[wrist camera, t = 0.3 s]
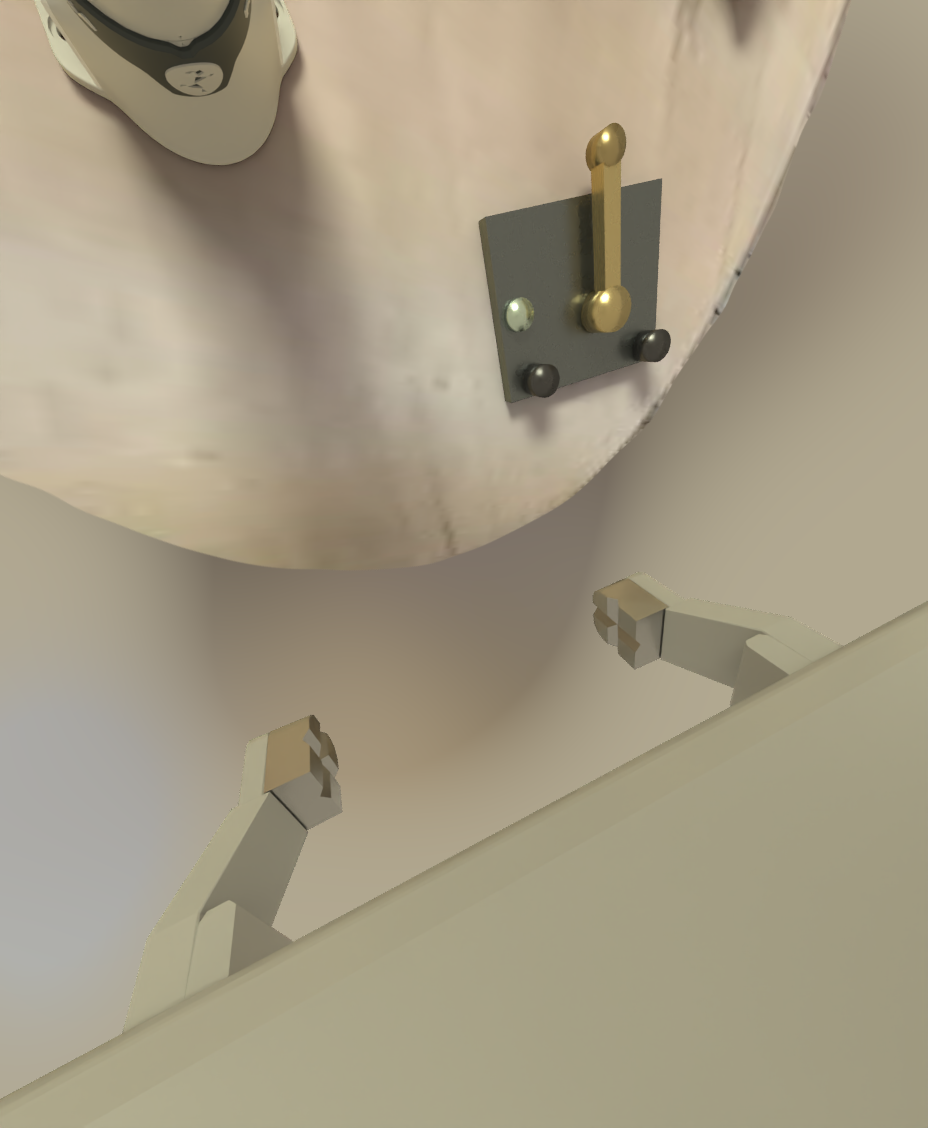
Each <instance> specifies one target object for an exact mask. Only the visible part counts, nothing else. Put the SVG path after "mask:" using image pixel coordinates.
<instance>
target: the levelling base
mask: <svg viewBox="0 0 928 1128" xmlns="http://www.w3.org/2000/svg"><path fill="white" fill-rule="evenodd" d="M661 192H662V178H661V179H657V180H652V181H648V182H643V183H638V184H634V185H629V186H625V187H621V286H623V287H625V288H626V289H627V291H628V292H629V294H630V298H631V311H630V315H629V318H628V320H627V322H626V323H625V325H624V326H623V327H622V328H621V329H619V330H618V331H616V332H607V333H591V332H589V331H587V330H586V329H585V328H584V326H583V324H582V320H581V309H582V305H583V302H584V300H585V298H586V297H587V296H588V294H589V293H590V292H592V291H593V290H594V255H593V219H592V194H588V195H584V196H579V197H575V198H570V199H565V200H561V201H556V202H552V203H547V204H543V205H538V206H533V207H529V208H524V209H520V210H515V211H511V212H506V213H502V214H497V215H492V216H488V217H485V218H483V219H482V220H480V221H479V229H480V235H481V242H482V249H483V255H484V262H485V269H486V275H487V282H488V289H489V295H490V302H491V309H492V315H493V322H494V329H495V335H496V342H497V349H498V355H499V362H500V369H501V375H502V382H503V389H504V395H505V401H506V402H510V403H513V402H516V401H519V400H522V399H525V398H528V397H531V396H538V397H544V398H545V397H549V396H551V395H552V394H554V393H555V391H556V390H557V388H560V387H563V386H566V385H569V384H572V383H575V382H579V381H582V380H585V379H588V378H591V377H594V376H597V375H600V374H604V373H607V372H610V371H613V370H616V369H619V368H622V367H626V366H629V365H632V364H635V363H638V362H641V361H644V362H658V361H660V360H662V359H663V358H664V357H665V356H666V354H667V353H668V351H669V348H670V343H671V339H670V335H669V333H668V332H667V331H666V330H664V329H659V330H655V327H656V304H657V282H658V259H659V237H660V215H661Z"/></svg>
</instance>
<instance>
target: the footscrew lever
mask: <svg viewBox="0 0 928 1128" xmlns="http://www.w3.org/2000/svg"><path fill="white" fill-rule="evenodd" d="M625 148H626V136H625V132H624V130H623V128H622V127H621V125H619V124H617V123H612V124H610V125H608V126H607V127H606V128H604V129H603V130H601V131H600V132H599V133H597V134H596V135H595V136H593V137H592V138H591V139H590V141H589V143H588V145H587V149H586V162H587V166H588V168H589V170H590V171H591V183H592V219H593V255H594V290H593V291H592V292H590V293H589V294H588V296H587V297H586V298H585V300H584V302H583V305H582V309H581V320H582V324H583V326H584V328H585V329H586V330H587V331H589V332H591V333H607V332H616V331H618V330H619V329H621V328H622V327H623V326H624V325H625V323H626V322H627V320H628V318H629V315H630V311H631V298H630V294H629V292H628V291H627V289H626V288H625V287H623V286H621V159H622V157H623V155H624V152H625Z"/></svg>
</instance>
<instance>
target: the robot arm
mask: <svg viewBox="0 0 928 1128" xmlns="http://www.w3.org/2000/svg"><path fill="white" fill-rule="evenodd" d="M34 2H35V4H36V7H37V10H38V13H39V15H40V18H41V21H42V24H43V26H44V29H45V32H46V35H47V37H48V40H49V43H50V46H51V48H52V51H53V53H54V55H55V57H56V59H57V60H58V62H59V64H60V65H61V67H62V68H63V70H64V71H65V72H66V73H67V74H68V75H69V76H70V77H71V78H72V79H74V80H75V81H76V82H78V83H79V84H81V85H82V86H84V87H86V88H87V89H89V90H91V91H93V92H95V93H97V94H98V95H100V96H102V97H104V98H106V99H108V100H110V101H112V102H113V103H114V104H115V105H117V106H118V107H119V108H120V109H121V110H122V111H123V112H124V113H126V114H127V115H128V116H129V117H130V118H131V119H132V120H133V121H134V122H135V123H136V124H137V125H138V126H139V127H140V128H141V129H142V130H143V131H145V132H146V133H147V134H148V135H149V136H151V137H152V138H153V139H154V140H156V141H157V142H158V143H160V144H161V145H163V146H164V147H166V148H167V149H169V150H171V151H173V152H175V153H176V154H178V155H180V156H183V157H185V158H187V159H190V160H193V161H196V162H200V163H204V164H210V165H228V164H233V163H237V162H240V161H242V160H244V159H246V158H248V157H250V156H251V155H252V154H254V153H255V152H256V151H257V150H258V149H259V148H260V147H261V146H262V145H263V143H264V142H265V140H266V139H267V137H268V135H269V134H270V131H271V129H272V127H273V124H274V121H275V117H276V113H277V108H278V100H279V92H280V86H281V81H282V78H283V76H284V75H285V73H286V72H287V70H288V68H289V67H290V65H291V63H292V62H293V60H294V58H295V55H296V52H297V47H298V42H297V35H296V31H295V27H294V24H293V22H292V19H291V17H290V14H289V12H288V10H287V7H286V5H285V2H284V0H34ZM276 12H277V13H278V18H277V15H276ZM61 34H62V35H63V37H64V38H65V40H66V41H65V40H63V39H62V38H61ZM593 603H594V604H595V605H596V606H597V609H596V611H595V612H594V614H593V616H594V624H595V626H596V629H597V631H598V633H599V635H600V636H601V637H602V639H603V640H604V641H606V643H608V644H610V645H613V646H617V647H618V654H619V655H620V656H621V657H622V658H623V659H624V660H625V661H626V662H627V663H628V664H629V665H630V666H631V667H632V668H634V669H637V668H639V667H642V666H644V665H646V664H648V663H650V662H652V661H655V660H657V659H659V658H661V660H664V661H666V662H669V663H671V664H674V665H676V666H679V667H681V668H684V669H686V670H689V671H692V672H694V673H697V674H699V675H702V676H704V677H707V678H709V679H712V680H714V681H717V682H720V683H722V684H725V685H727V686H730V687H732V688H734V690H733V694H732V698H731V701H730V707H729V708H727V709H726V710H724V711H722V712H720V713H718V714H716V715H715V716H713V717H711V718H709V719H707V720H705V721H703V722H702V723H700V724H698V725H696V726H694V727H692V728H690V729H689V730H687V731H685V732H683V733H681V734H679V735H677V736H675V737H673V738H672V739H670V740H668V741H666V742H664V743H662V744H660V745H659V746H657V747H655V748H653V749H651V750H649V751H647V752H646V753H644V754H642V755H640V756H638V757H636V758H634V759H633V760H631V761H629V762H627V763H625V764H623V765H621V766H619V767H618V768H616V769H614V770H612V771H610V772H608V773H606V774H604V775H603V776H601V777H599V778H597V779H596V780H593V781H591V782H590V783H588V784H586V785H584V786H582V787H581V788H578V789H577V790H575V791H573V792H571V793H569V794H567V795H565V796H564V797H562V798H560V799H558V800H556V801H554V802H552V803H550V804H549V805H547V806H545V807H543V808H541V809H539V810H537V811H536V812H534V813H532V814H530V815H529V816H526V817H525V818H523V819H521V820H519V821H517V822H515V823H513V824H511V825H510V826H508V827H506V828H504V829H502V830H500V831H499V832H497V833H495V834H493V835H491V836H489V837H487V838H485V839H484V840H482V841H480V842H478V843H476V844H474V845H472V846H471V847H469V848H467V849H465V850H463V851H461V852H460V853H458V854H456V855H454V856H452V857H450V858H448V859H447V860H445V861H443V862H441V863H439V864H437V865H435V866H433V867H432V868H430V869H428V870H426V871H424V872H422V873H420V874H419V875H417V876H415V877H413V878H411V879H409V880H407V881H406V882H404V883H402V884H400V885H398V886H396V887H394V888H392V889H391V890H389V891H387V892H385V893H383V894H381V895H379V896H378V897H376V898H374V899H372V900H370V901H368V902H366V903H365V904H363V905H361V906H359V907H357V908H355V909H354V910H352V911H350V912H348V913H346V914H344V915H342V916H341V917H339V918H337V919H335V920H333V921H331V922H329V923H328V924H326V925H324V926H322V927H320V928H318V929H317V930H314V931H313V932H311V933H309V934H307V935H305V936H303V937H301V938H300V939H298V940H296V941H294V942H293V941H292V940H290V939H289V938H287V937H286V936H285V935H283V934H282V933H280V932H278V931H277V930H275V929H274V928H272V927H271V926H272V924H273V921H274V919H275V916H276V914H277V911H278V908H279V906H280V903H281V901H282V898H283V896H284V893H285V891H286V888H287V885H288V883H289V880H290V878H291V875H292V872H293V870H294V867H295V865H296V862H297V860H298V857H299V855H300V852H301V849H302V847H303V844H304V842H305V839H306V837H307V834H308V831H307V830H309V829H311V828H313V827H314V826H316V825H318V824H320V823H322V822H324V821H326V820H328V819H330V818H332V817H334V816H336V815H337V814H339V813H341V812H342V802H341V790H340V785H339V784H338V782H337V781H336V779H335V776H336V773H337V771H338V769H339V768H338V759H337V755H336V751H335V748H334V745H333V743H332V741H331V739H330V737H329V736H328V734H327V733H323V732H320V723H319V721H318V720H317V719H316V717H315V716H314V715H310V716H307V717H305V718H302V719H300V720H297V721H295V722H292V723H290V724H288V725H285V726H282V727H280V728H278V729H275V730H273V731H271V732H269V733H266V734H264V735H261V736H259V737H257V738H254V739H252V740H250V741H249V743H248V745H247V747H246V752H245V759H244V766H243V773H242V780H241V788H240V795H239V803H238V806H237V807H235V808H233V809H231V811H230V812H229V814H228V815H227V817H226V818H225V820H224V822H223V823H222V824H221V826H220V828H219V829H218V831H217V832H216V834H215V835H214V837H213V838H212V840H211V841H210V843H209V844H208V846H207V848H206V849H205V851H204V852H203V854H202V855H201V857H200V858H199V860H198V861H197V863H196V864H195V866H194V868H193V869H192V871H191V872H190V874H189V875H188V877H187V878H186V880H185V881H184V883H183V884H182V886H181V887H180V889H179V890H178V892H177V893H176V895H175V897H174V898H173V900H172V901H171V903H170V904H169V906H168V907H167V909H166V910H165V912H164V913H163V915H162V917H161V918H160V920H159V921H158V923H157V924H156V926H155V927H154V929H153V930H152V932H151V934H150V935H149V936H148V938H147V941H146V945H145V949H144V952H143V956H142V960H141V964H140V967H139V971H138V975H137V979H136V983H135V987H134V991H133V995H132V998H131V1002H130V1006H129V1010H128V1013H127V1017H126V1021H125V1025H124V1029H123V1033H122V1034H121V1035H119V1036H117V1037H115V1038H113V1039H111V1040H110V1041H108V1042H106V1043H104V1044H102V1045H100V1046H98V1047H96V1048H95V1049H93V1050H91V1051H89V1052H87V1053H85V1054H83V1055H82V1056H80V1057H78V1058H76V1059H74V1060H72V1061H70V1062H69V1063H67V1064H65V1065H63V1066H61V1067H59V1068H57V1069H56V1070H54V1071H52V1072H50V1073H48V1074H46V1075H45V1076H42V1077H40V1078H39V1079H37V1080H35V1081H33V1082H31V1083H29V1084H27V1085H26V1086H24V1087H22V1088H20V1089H18V1090H16V1091H14V1092H13V1093H11V1094H9V1095H7V1096H5V1097H3V1098H1V1099H0V1128H928V601H926V602H924V603H923V604H921V605H919V606H917V607H915V608H914V609H912V610H910V611H908V612H906V613H904V614H902V615H900V616H899V617H897V618H895V619H893V620H891V621H889V622H887V623H886V624H884V625H882V626H880V627H878V628H876V629H874V630H872V631H871V632H869V633H867V634H865V635H863V636H861V637H859V638H858V639H856V640H854V641H852V642H850V643H848V644H847V645H845V646H842V645H840V644H838V643H837V642H835V641H833V640H831V639H830V638H828V637H826V636H824V635H822V634H821V633H819V632H817V631H815V630H813V629H812V628H810V627H808V626H806V625H804V624H803V623H801V622H799V621H797V620H795V619H794V618H791V617H789V616H783V615H778V614H773V613H767V612H762V611H757V610H752V609H747V608H741V607H736V606H731V605H726V604H720V603H715V602H710V601H704V600H699V599H694V598H689V599H686V600H685V599H684V598H682V597H680V596H679V595H678V594H676V593H675V592H673V591H672V590H670V589H668V588H667V587H665V586H664V585H662V584H661V583H659V582H658V581H656V580H655V579H653V578H652V577H650V576H649V575H647V574H645V573H643V572H638V573H635V574H633V575H631V576H628V577H626V578H624V579H622V580H619V581H617V582H615V583H613V584H611V585H609V586H606V587H604V588H602V589H599V590H597V591H595V592H594V595H593Z"/></svg>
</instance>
